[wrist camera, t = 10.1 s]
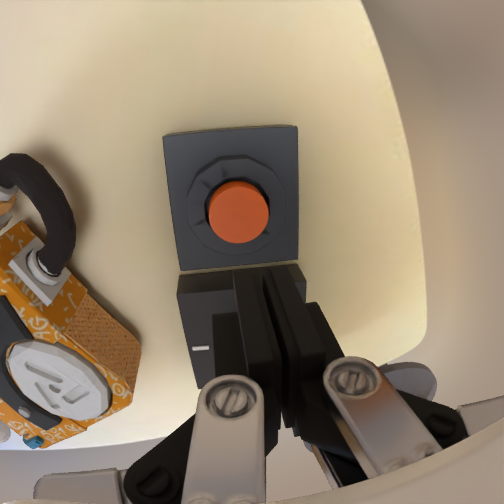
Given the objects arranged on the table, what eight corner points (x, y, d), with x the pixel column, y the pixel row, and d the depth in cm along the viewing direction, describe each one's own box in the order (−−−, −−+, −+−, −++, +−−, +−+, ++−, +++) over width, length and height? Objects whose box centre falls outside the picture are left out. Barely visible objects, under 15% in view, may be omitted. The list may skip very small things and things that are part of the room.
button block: (291, 247, 27) (304, 270, 23) (182, 258, 26) (178, 283, 22) (290, 124, 22) (305, 128, 19) (166, 134, 21) (157, 138, 18)
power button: (265, 230, 22) (269, 240, 20) (211, 235, 21) (211, 246, 20) (263, 178, 20) (267, 184, 19) (206, 183, 20) (206, 189, 18)
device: (-99, 342, 17) (-27, 132, 12) (-67, 305, 24) (37, 120, 19) (37, 462, 26) (213, 383, 21) (51, 415, 33) (211, 314, 28)
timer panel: (294, 356, 32) (301, 378, 29) (197, 367, 31) (198, 390, 28) (297, 263, 27) (307, 282, 24) (179, 275, 26) (176, 295, 23)
